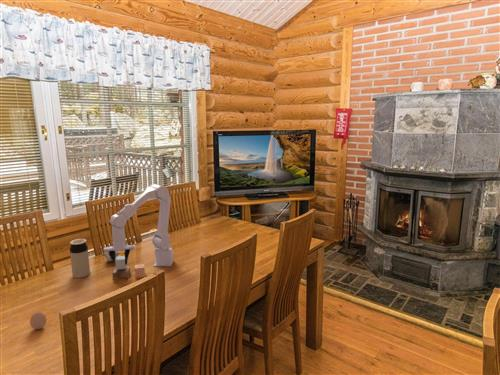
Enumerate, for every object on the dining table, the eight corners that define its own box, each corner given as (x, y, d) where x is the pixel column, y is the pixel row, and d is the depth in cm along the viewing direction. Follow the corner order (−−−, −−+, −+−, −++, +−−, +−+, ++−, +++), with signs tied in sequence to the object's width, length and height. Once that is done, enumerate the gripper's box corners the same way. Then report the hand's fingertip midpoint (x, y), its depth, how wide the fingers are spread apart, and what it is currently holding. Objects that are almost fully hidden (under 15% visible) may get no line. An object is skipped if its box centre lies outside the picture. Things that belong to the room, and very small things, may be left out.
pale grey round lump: (113, 268, 186) (112, 259, 179) (100, 262, 187) (98, 252, 180) (123, 256, 192) (122, 246, 185) (110, 249, 193) (109, 240, 186)
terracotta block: (145, 272, 173) (144, 263, 172) (144, 276, 169) (144, 267, 168) (135, 274, 172) (135, 264, 171) (135, 277, 167) (134, 268, 166)
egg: (27, 330, 125) (25, 314, 123) (40, 323, 129) (38, 307, 128) (37, 333, 123) (35, 317, 122) (50, 326, 128) (48, 309, 126)
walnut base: (130, 273, 173) (129, 266, 172) (127, 279, 166) (127, 271, 165) (116, 274, 172) (115, 266, 171) (112, 280, 165) (112, 272, 164)
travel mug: (93, 272, 173) (90, 239, 169) (81, 279, 165) (77, 244, 162) (81, 270, 175) (78, 237, 172) (68, 277, 168) (65, 242, 164)
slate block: (126, 265, 171) (125, 255, 170) (125, 268, 166) (124, 259, 165) (117, 265, 170) (116, 256, 169) (115, 269, 165) (114, 260, 164)
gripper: (135, 234, 170) (136, 259, 173) (104, 236, 167) (106, 262, 170) (133, 239, 164) (135, 265, 166) (101, 241, 160) (104, 268, 163)
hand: (120, 264), depth 168 cm, fingers closed on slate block, 4 cm apart
